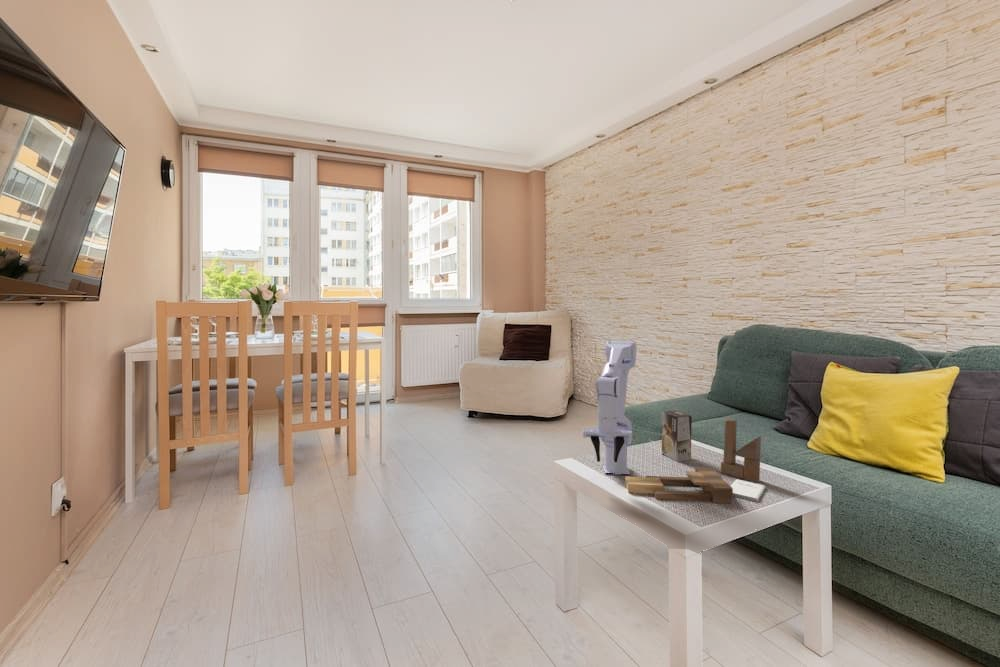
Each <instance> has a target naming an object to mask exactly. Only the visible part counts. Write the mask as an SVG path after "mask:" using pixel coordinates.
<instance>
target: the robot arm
mask: <svg viewBox="0 0 1000 667" xmlns="http://www.w3.org/2000/svg"><path fill="white" fill-rule="evenodd" d="M604 351H605V357H606V360H607V361H606V362H607V363H605V364H604V366H603V368H602V371H601V375H600V376H599V378H596V380H595V395H596V396H595V397H596V402H597V428H592V429H582V438H590V440H591V443H592V445H593V449H594V450H595V451H594V452H595V454H596V456H595V457H596V461H597V462H598V463H599V462H601V456H600V455H601V452H600V450H601V448H600V447H601V442H602V443H603V445H604V463H605V467H604V466H602V468H604V469H603V471H605V472H604V474H605V473H613V474H612V475H621V474H631V473H630V470H629V469H628V446H630V445H631V444H632V440H633V424H632V421H631V420H630V419H629V418H628V417H627V416H625V414H626V413H625V412H626V399H627V390H628V388H627V387H628V378H629V374H630V373H629V372H630V371H631V369H633V368H635V366H636V361H637V343H636V342H635V341H620V340H619V341H617V340H607V341H606V343H605V350H604ZM600 440H601V441H600ZM614 473H615V474H614Z"/></svg>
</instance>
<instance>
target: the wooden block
mask: <svg viewBox="0 0 1000 667" xmlns="http://www.w3.org/2000/svg"><path fill="white" fill-rule="evenodd" d="M723 422H724V423H723V425H724V427H723V430H724V431H723V456H722V457H723V461H721V463H720V473H721V474H724V475H727V476H731V477H735V478H737V479H740V480H741V479H742V480H743V481H747V482H751V481H752V483H757V482H758V481H760V477H761V476H760V472H761V470H760V468H761V448H762V447H761V443H762V441H761V439H762V436H758V437H755V438H754V439H752V440H751V441H750V442H748V443H747V444H746V445H744V446H743V447H741V448H739V449H737V423H738V422H737V420H736V419H735V418H725V419H724V421H723ZM737 457H741V458H744V459H743V464H741V463H739V462H738V463H737V462H736V458H737ZM756 481H757V482H756Z"/></svg>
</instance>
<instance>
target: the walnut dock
mask: <svg viewBox="0 0 1000 667" xmlns="http://www.w3.org/2000/svg"><path fill="white" fill-rule="evenodd" d="M685 475H686V476H687V477H686V476H662V475H661V476H660V475H659V476H658V475H657V476H656V475H654V476H653V475H645V477H652V478H659V479H660V481H661V482H662V484H663V485H668V484H670V486H672V485H673V486H699V487H700V488H701V490H702V491H697V490H696V491H693V490H691V491H690V490H671V489H670V490H666V489H665V490H664V489H663V490H654V494H653V497H654V498H655V499H657V500H677V501H678V500H679V501H680V500H681V501H708V502H712V503H714V504H733V496H732V493H733V488H732V487H731V484H728V482H727V481H726V480H725V479H724V478H723V477H722V476H721V475H720V474H719V473H718V472H717V471H716V470H714V468H712V467H695V470H694V471H685Z"/></svg>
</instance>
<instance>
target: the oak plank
mask: <svg viewBox="0 0 1000 667" xmlns="http://www.w3.org/2000/svg"><path fill="white" fill-rule="evenodd" d="M624 479H625V481H624V485H626V486H625V488H626V491H627V490H628V491H627V492H634V493H633V494H648V493H654V490H664V484H662V482H661V481H660V479H659V478H652V477H646V476H626V475H625V477H624Z"/></svg>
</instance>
